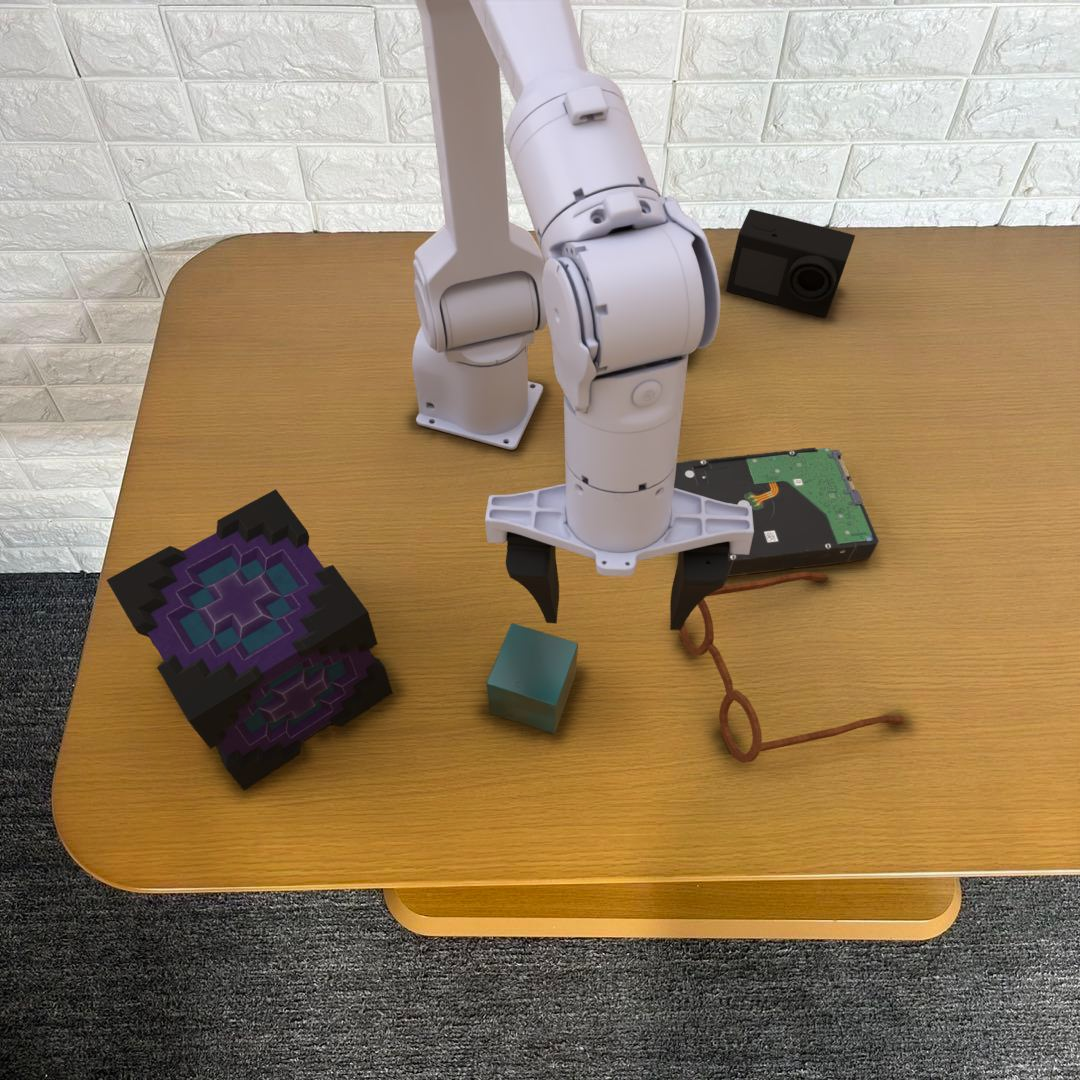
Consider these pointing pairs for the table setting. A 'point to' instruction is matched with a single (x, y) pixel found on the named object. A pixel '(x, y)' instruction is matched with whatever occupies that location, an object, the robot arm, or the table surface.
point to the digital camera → (788, 262)
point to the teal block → (532, 678)
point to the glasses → (740, 698)
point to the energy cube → (255, 637)
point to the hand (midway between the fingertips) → (613, 613)
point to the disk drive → (787, 507)
